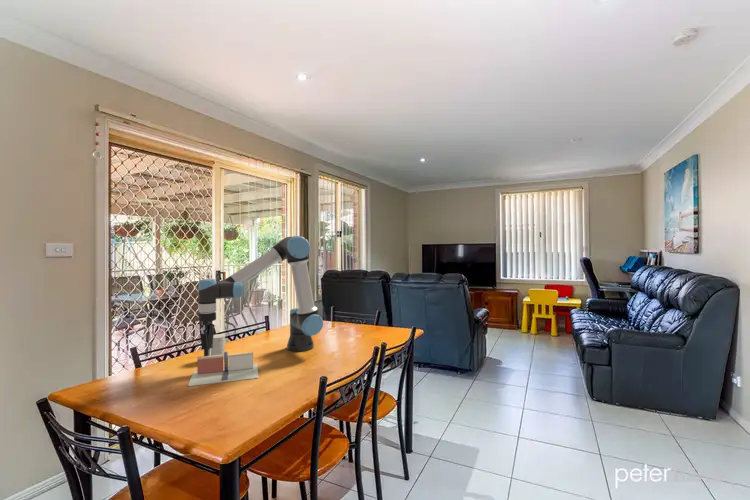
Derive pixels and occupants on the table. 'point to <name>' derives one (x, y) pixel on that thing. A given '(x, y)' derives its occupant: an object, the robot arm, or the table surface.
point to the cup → (218, 345)
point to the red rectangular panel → (209, 364)
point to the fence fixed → (238, 361)
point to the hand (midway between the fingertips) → (207, 362)
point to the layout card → (223, 376)
